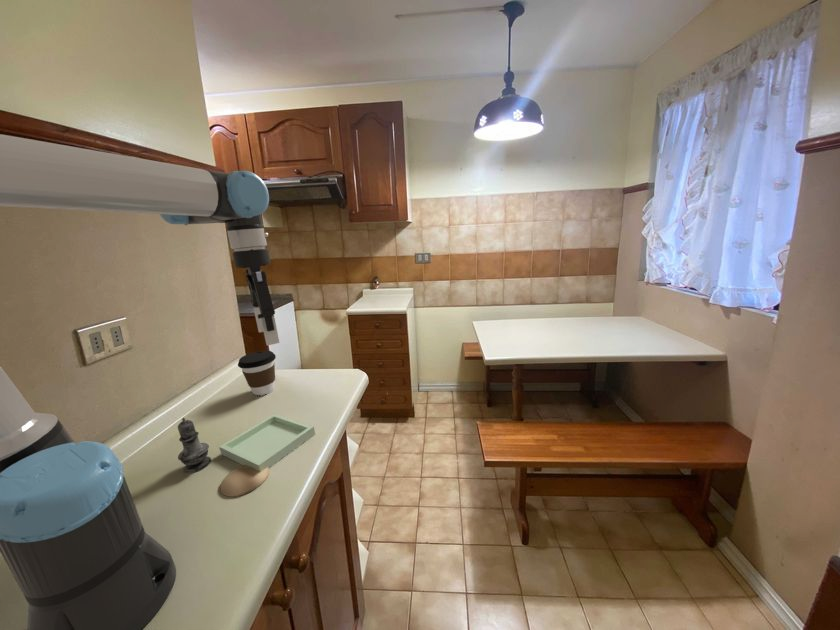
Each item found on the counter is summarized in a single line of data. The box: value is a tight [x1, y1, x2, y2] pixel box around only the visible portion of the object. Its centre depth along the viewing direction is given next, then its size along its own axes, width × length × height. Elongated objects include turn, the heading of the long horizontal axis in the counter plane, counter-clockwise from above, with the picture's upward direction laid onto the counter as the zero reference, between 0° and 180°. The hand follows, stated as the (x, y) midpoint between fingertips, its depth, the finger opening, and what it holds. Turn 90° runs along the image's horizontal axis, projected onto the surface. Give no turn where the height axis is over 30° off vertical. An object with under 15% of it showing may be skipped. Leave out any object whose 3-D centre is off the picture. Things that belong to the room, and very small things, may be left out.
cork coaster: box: [220, 465, 270, 498], centre depth 70 cm, size 9×9×1 cm
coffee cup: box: [237, 350, 277, 396], centre depth 108 cm, size 11×11×12 cm
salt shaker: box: [177, 417, 212, 474], centre depth 75 cm, size 6×6×12 cm
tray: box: [218, 413, 316, 472], centre depth 81 cm, size 15×15×2 cm
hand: (268, 337), depth 83 cm, fingers open, 13 cm apart
